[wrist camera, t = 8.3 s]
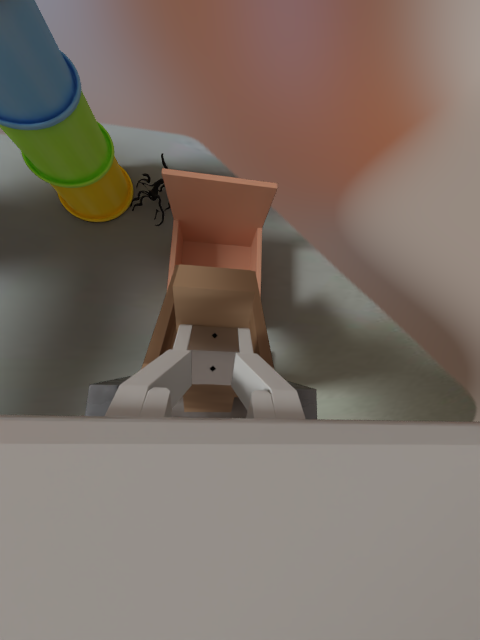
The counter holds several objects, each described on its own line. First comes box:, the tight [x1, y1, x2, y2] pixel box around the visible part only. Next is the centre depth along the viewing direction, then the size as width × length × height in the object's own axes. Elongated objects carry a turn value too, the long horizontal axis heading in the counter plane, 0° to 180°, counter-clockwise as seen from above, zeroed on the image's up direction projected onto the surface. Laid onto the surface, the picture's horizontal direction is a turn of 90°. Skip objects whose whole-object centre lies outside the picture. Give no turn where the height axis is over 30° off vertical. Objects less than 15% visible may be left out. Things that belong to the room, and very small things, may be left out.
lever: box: [141, 264, 274, 418], centre depth 17 cm, size 10×14×11 cm
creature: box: [130, 154, 171, 226], centre depth 32 cm, size 8×5×8 cm
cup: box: [162, 168, 277, 298], centre depth 27 cm, size 11×13×13 cm
